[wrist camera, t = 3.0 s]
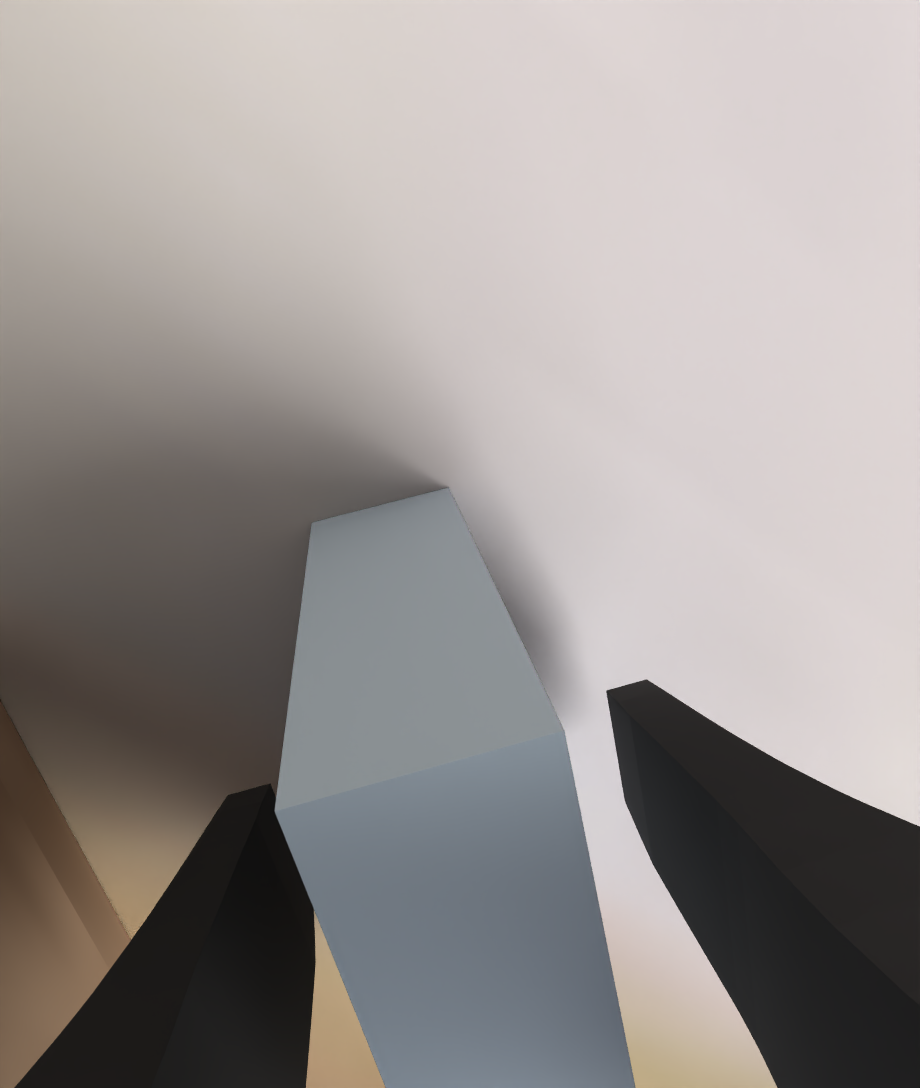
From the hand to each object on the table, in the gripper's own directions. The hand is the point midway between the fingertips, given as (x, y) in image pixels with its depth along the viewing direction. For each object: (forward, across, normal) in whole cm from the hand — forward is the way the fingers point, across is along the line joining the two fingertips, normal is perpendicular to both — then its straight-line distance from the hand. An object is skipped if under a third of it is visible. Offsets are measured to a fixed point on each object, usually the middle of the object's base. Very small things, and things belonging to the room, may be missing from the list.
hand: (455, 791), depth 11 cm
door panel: (+2, 0, 0) cm, 2 cm away
